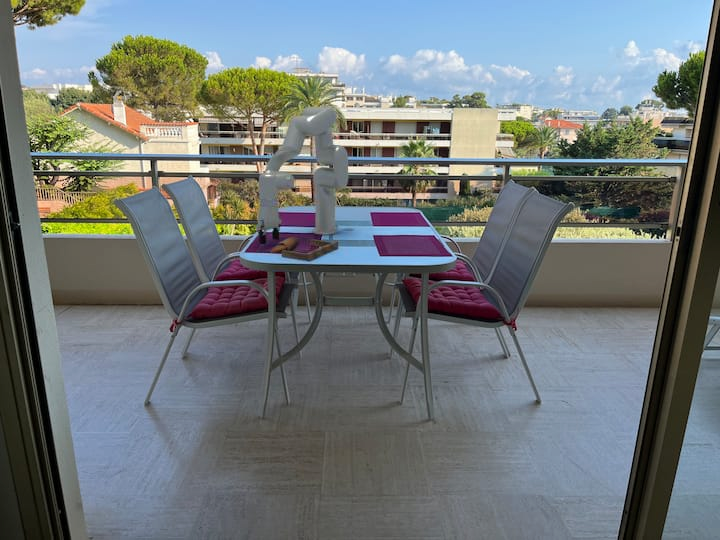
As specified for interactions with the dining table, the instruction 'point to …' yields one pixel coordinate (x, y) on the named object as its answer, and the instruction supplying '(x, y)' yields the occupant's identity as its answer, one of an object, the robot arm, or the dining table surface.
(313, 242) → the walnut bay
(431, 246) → the dining table surface
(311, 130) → the robot arm
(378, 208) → the dining table surface
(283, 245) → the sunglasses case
